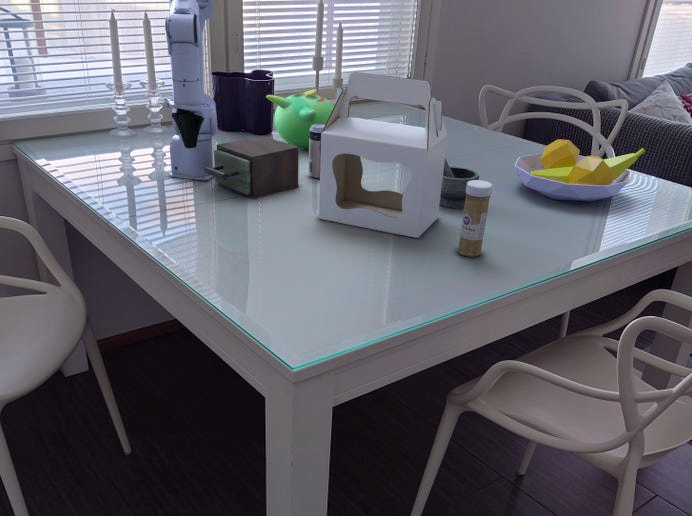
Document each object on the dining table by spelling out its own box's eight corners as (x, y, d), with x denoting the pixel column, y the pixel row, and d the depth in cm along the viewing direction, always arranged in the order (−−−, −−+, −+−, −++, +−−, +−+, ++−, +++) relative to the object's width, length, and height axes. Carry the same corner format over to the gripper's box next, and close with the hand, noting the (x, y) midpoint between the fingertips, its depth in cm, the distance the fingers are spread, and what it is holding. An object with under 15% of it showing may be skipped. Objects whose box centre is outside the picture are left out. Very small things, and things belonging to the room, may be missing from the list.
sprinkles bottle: (452, 252, 131) (462, 182, 124) (465, 246, 134) (475, 177, 127) (473, 259, 129) (484, 188, 122) (485, 253, 132) (497, 183, 125)
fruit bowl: (504, 201, 158) (512, 151, 152) (519, 170, 180) (527, 125, 174) (633, 220, 151) (647, 168, 145) (633, 186, 173) (645, 139, 167)
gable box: (438, 218, 147) (456, 78, 132) (419, 239, 136) (435, 88, 122) (342, 200, 154) (349, 65, 139) (317, 218, 144) (321, 74, 129)
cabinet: (253, 198, 153) (252, 157, 148) (218, 184, 160) (216, 144, 156) (298, 186, 162) (298, 147, 157) (263, 173, 169) (262, 135, 164)
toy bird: (348, 146, 194) (351, 91, 186) (314, 159, 182) (316, 100, 174) (295, 135, 202) (296, 82, 194) (260, 147, 190) (259, 90, 182)
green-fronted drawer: (230, 199, 149) (229, 165, 146) (199, 186, 156) (196, 153, 152) (289, 184, 160) (289, 152, 156) (257, 172, 167) (256, 141, 163)
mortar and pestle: (477, 200, 158) (485, 146, 152) (471, 212, 151) (479, 157, 144) (429, 193, 161) (434, 141, 155) (420, 205, 153) (426, 151, 147)
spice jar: (325, 180, 167) (327, 129, 160) (306, 178, 167) (307, 127, 161) (329, 174, 171) (331, 124, 164) (311, 172, 171) (312, 122, 165)
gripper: (149, 76, 143) (155, 143, 150) (190, 86, 134) (195, 157, 141) (178, 73, 147) (182, 138, 154) (219, 83, 139) (222, 152, 146)
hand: (190, 147), depth 148 cm, fingers closed
